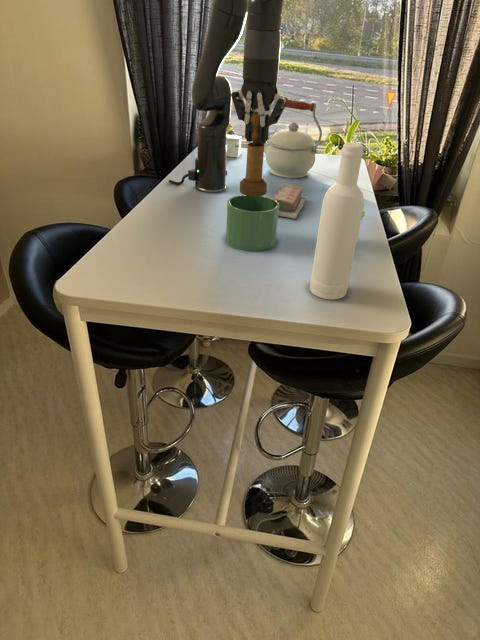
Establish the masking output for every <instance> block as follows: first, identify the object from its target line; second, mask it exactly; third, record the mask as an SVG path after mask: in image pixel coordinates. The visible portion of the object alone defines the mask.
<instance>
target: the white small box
mask: <svg viewBox="0 0 480 640" xmlns="http://www.w3.org/2000/svg"><path fill="white" fill-rule="evenodd" d="M241 151H242V136H241V135H233V134H232V135H231V134H227V152H226V157H231V158H239V157H240V156H241V153H242V152H241Z"/></svg>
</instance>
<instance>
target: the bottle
mask: <svg viewBox="0 0 480 640" xmlns="http://www.w3.org/2000/svg"><path fill="white" fill-rule="evenodd" d="M340 155H341V156H340V160H339V161H340V163H339V167H338V175H337V180H336V182H335V183H334V184H333V185H331V186H330V187H329V188H328V189H327V191H326V193H325V194H324V197H323V199H322V203H321V211H320V217H319V225H318V231H317V238H316V244H315V250H314V256H313V257H314V258H313V264H312V271H311V275H310V281H309V282H310V284H309V291H310V292H311V293H312V294H313V296H315V297H317V298H321V299H323V300H330V301H332V300H333V301H334V300H335V301H336V300H340V299H342V298H344V297H346V295H347V292H348V289H349V285H350V277H351V271H352V267H353V263H354V259H355V252H356V248H357V242H358V236H359V232H360V228H361V223H362V220H361V218H362V219H363V217H362V213H363V211H364V207H365V197H364V193H363V190H361V188H360V187H359V185H358V180H359V175H360V174H359V173H360V169H361V163H362V159H363V157H364V145H363V144H361V143H358V142H345V143H344V144H343V145H342V149H341V151H340Z"/></svg>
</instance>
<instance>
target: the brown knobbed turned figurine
mask: <svg viewBox="0 0 480 640" xmlns="http://www.w3.org/2000/svg"><path fill="white" fill-rule="evenodd" d="M251 122H252V125H253V127H254V130H253V133H252V142H247V144H246V145H247V147H246V149H247V150H246V167H245V177H244V178H242V180H240V181H239V193H240V195H247V196H265V195H266V194H267V192H268V183H267V181H266V180H265V179H264V178H263V169H264V155H265V153H264V144H259V143H258V142H259V127H261V125H260V116H259V113H258V111H257V112H254V113H253V114H252V115H251Z"/></svg>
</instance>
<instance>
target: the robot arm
mask: <svg viewBox="0 0 480 640" xmlns="http://www.w3.org/2000/svg"><path fill="white" fill-rule="evenodd" d="M284 1H285V0H213V2H212V6H211V9H210V16H209V21H208V26H207V32H206V35H205V40H204V45H203V49H202V53H201V57H200V59H199V61H198V62H199V63H198V66H197V69H196V71H195V75H194V79H193V82H192V86H191V101H192V104H193V106H194V109H196V110H197V111H199V112H208V114H207V116H206V117H205V118H204V119H203V120H201V121H200V122H199V123H198V124H197V157H195V158H194V168H191V169H189V170H187V173H186V174H184V175H183V176H182V177H181V181H175V180H172V179H168V183H170V184H173V185H177V186H178V185H179V186H180V185H182V184H184V182H185V179H186V178H187V179H188V181H192V182H194V187H195V188H196V189H197V190H198V191H201V192H204V193H211V194H213V193H221V192H224V191H225V190H226V188H227V187H226V184H227V183H226V179H227V176H228V171H227V156H226V152H227V135H228V129H229V126H230V124H231V123H230V122H231V113H232V112H231V111H232V103H233V106H234V109H235V113H236V116H237V119H238V120H239V121H243V122H244V124H245V125H244V127H245V128H244V139H245V140H246V142H247V143H253V141H252V133H253V130H254V127H253V125H252V122H251V115H252V114H253V113H254V112H258V113H259V116H260V125H261V127H259V142H258V143H259V144H265V143H267V141H268V132H269V133H270V127H271V126H273V125H275V124H276V125H277V124H278V122H279V120H280V118H281V116H282V114H283V112H284V110H285V108H286V107H285V106H286V104H287V102H288V100H289V99H288V98H287V97H282V96H281V95H280V94H279V91H278V88H277V83H278V79H279V68H280V57H281V41H282V40H281V28H282V18H283V16H282V15H283V8H284ZM245 24H246V26H245ZM244 27H245V34H244V35H245V36H244V42H243V58H242V59H243V61H242V63H243V64H242V80H243V83H242V85H241V87H240V88H241V89H238V90H237V91H236V90H235V91H232V86H231V83H230V81H229V79H228V78H226V77H225V76H223V75H218V74H219V71H220V68H221V67H222V66H221V65H222V64H223V62H224V61H225V59H226V58H227V57H228V55H229V54H230V53H231V51H232V50H233V49H234V48H235V46H236V45H237V43H238V42H239V40H240V38H241V36H242V35H243V31H244ZM244 100H245V101H244ZM272 103H273V104H272ZM272 105H274V106H273V108H272Z"/></svg>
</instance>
